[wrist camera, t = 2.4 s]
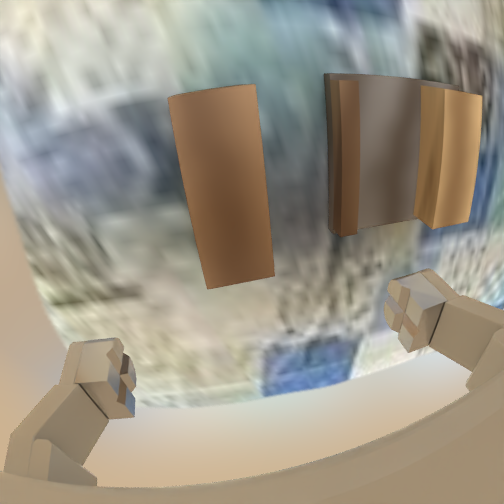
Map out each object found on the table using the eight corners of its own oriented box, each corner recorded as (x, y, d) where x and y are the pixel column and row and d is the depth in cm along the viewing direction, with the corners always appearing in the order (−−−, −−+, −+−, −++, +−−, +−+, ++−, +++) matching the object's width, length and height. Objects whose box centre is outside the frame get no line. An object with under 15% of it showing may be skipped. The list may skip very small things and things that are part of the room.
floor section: (451, 84, 21) (482, 90, 18) (442, 209, 28) (467, 226, 24) (323, 73, 20) (348, 73, 16) (328, 228, 26) (348, 251, 23)
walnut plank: (238, 84, 19) (255, 84, 14) (257, 234, 26) (274, 276, 21) (174, 95, 19) (167, 97, 14) (202, 244, 25) (207, 289, 20)
